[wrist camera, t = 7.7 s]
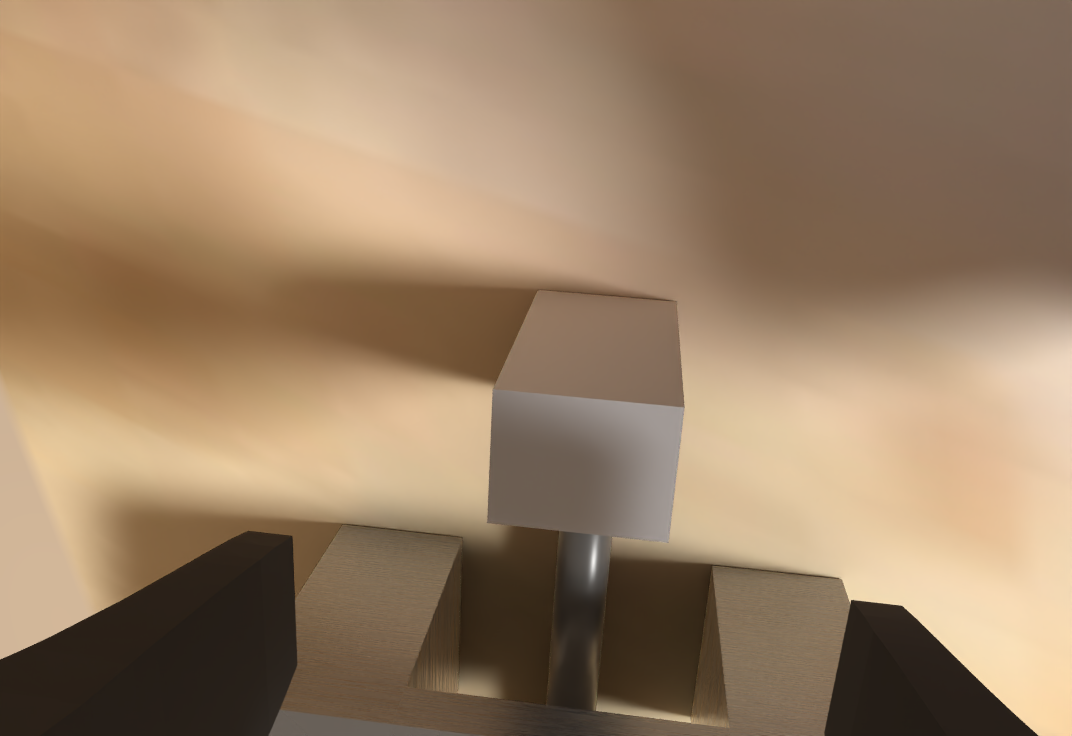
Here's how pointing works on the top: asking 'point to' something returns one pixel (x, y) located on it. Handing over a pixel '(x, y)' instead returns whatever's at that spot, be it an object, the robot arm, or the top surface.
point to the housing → (527, 728)
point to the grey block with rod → (587, 453)
